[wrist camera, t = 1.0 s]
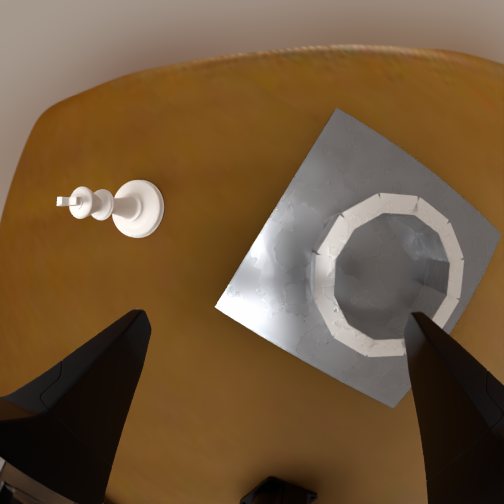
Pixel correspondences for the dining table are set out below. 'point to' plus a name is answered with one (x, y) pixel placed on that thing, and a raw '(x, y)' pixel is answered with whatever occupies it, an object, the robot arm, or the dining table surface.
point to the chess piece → (120, 206)
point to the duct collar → (360, 259)
